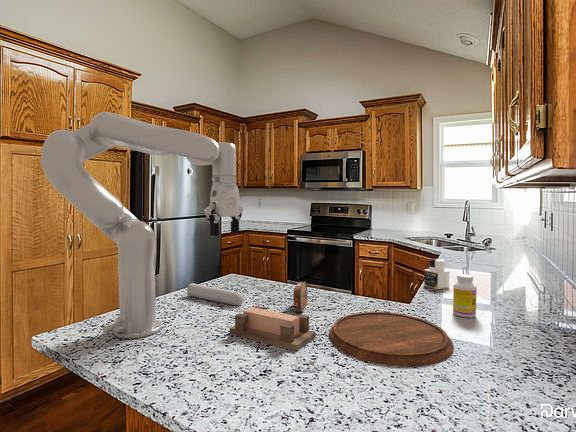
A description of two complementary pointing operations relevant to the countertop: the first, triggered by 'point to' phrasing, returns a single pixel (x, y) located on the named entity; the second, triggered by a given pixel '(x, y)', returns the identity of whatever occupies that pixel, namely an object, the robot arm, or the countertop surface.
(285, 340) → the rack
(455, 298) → the supplement bottle
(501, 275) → the countertop surface
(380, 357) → the cutting board
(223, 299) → the tube
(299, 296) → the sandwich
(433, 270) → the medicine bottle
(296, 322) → the clay strip
